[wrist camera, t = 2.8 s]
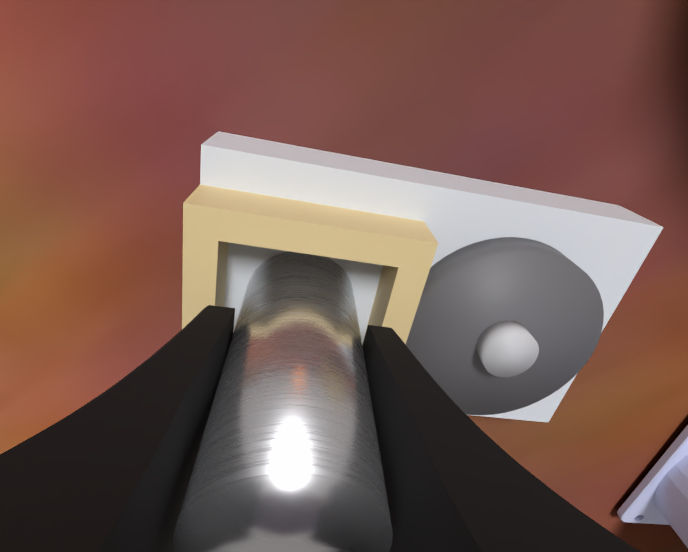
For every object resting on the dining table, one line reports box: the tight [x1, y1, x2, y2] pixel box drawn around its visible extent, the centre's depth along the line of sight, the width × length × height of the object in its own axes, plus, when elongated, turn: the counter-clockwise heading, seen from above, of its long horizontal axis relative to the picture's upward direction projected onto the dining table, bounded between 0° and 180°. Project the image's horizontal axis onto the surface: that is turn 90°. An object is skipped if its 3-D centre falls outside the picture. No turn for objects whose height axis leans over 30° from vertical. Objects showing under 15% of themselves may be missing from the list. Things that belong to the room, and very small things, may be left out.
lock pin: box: [173, 251, 393, 552], centre depth 9 cm, size 3×3×7 cm
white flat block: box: [182, 131, 663, 422], centre depth 13 cm, size 13×8×4 cm, turn 79°
